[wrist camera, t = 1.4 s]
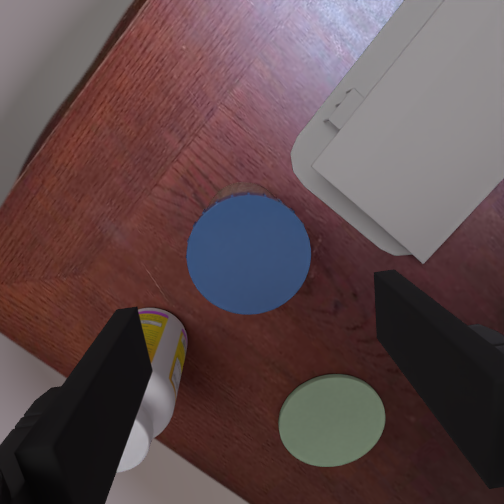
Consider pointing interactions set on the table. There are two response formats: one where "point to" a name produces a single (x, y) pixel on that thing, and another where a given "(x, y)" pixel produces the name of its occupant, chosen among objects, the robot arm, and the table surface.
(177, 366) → the supplement bottle
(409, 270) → the table surface
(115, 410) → the robot arm
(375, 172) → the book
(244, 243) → the jar lid
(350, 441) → the coaster
